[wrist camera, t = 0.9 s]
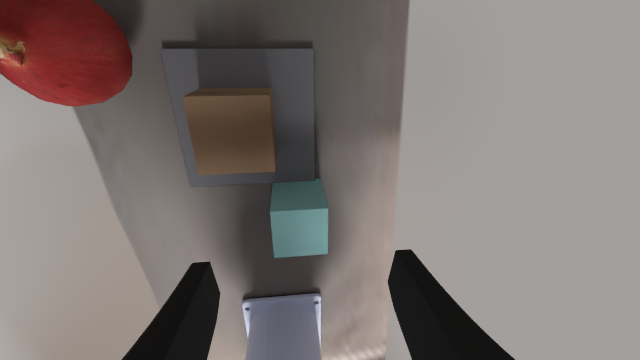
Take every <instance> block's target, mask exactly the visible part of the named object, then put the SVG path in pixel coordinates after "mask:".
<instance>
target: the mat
mask: <svg viewBox="0 0 640 360" xmlns="http://www.w3.org/2000/svg"><path fill="white" fill-rule="evenodd" d="M160 51H161V56H162V60H163V65H164V69H165V74H166V78H167V83H168V87H169V92H170V97H171V101H172V106H173V110H174V115H175V119H176V124H177V128H178V133H179V137H180V142H181V146H182V151H183V155H184V160H185V164H186V169H187V173H188V178H189V182H190V187H196V186H217V185H238V184H259V183H280V182H301V181H315V128H314V49H160ZM207 88H272V94H273V108H274V122H275V137H276V151H277V157H276V168H275V172H258V173H235V174H213V175H198V171H197V166H196V161H195V156H194V151H193V146H192V141H191V136H190V131H189V126H188V122H187V117H186V112H185V107H184V102H183V96H185V95H187V94H189V93H191V92H193V91H195V90H197V89H207Z"/></svg>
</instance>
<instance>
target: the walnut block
mask: <svg viewBox="0 0 640 360" xmlns="http://www.w3.org/2000/svg"><path fill="white" fill-rule="evenodd" d="M183 102H184V107H185V112H186V117H187V122H188V126H189V131H190V136H191V141H192V146H193V151H194V156H195V161H196V166H197V171H198V175H213V174H235V173H258V172H275V168H276V157H277V151H276V137H275V122H274V108H273V94H272V88H207V89H197V90H195V91H193V92H191V93H189V94H187V95H185V96H183Z"/></svg>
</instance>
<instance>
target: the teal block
mask: <svg viewBox="0 0 640 360" xmlns="http://www.w3.org/2000/svg"><path fill="white" fill-rule="evenodd" d="M270 218H271V229H272V240H273V251H274V258H281V257H295V256H308V255H321V254H328V205H327V201H326V198H325V194H324V190H323V186H322V183H321V179H320V178H316V179H315V181H301V182H280V183H273V184H272V195H271V206H270Z"/></svg>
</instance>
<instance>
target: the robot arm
mask: <svg viewBox="0 0 640 360" xmlns="http://www.w3.org/2000/svg"><path fill="white" fill-rule="evenodd" d="M388 285H389V290H390V294H391V298H392V302H393V306H394V309H395V312H396V315H397V318H398V321H399V324H400V327H401V330H402V332H403V335H404V338H405V341H406V344H407V346H408V349H409V352H410V355H411V357H412V360H515V359H514V358H513V357H511V356H510V355H509V354H508V353H507V352H506V351H505V350H504V349H502V348H501V347H500V346H499V345H498V344H497V343H496V342H495V341H494V340H493V339H492V338H491V337H490V336H488V335H487V334H486V333H485V332H484V331H483V330H482V329H481V328H480V327H479V326H478V325H477V324H476V323H475V322H474V321H473V320H472V319H471V318H470V317H469V316H468V315H467V314H466V313H465V311H463V309H462V308H461V307H460V306H459V305H458V304H457V303H456V302H455V301H454V300H453V298H452V297H451V296H450V295H449V294H448V293H447V292H446V291H445V290H444V288H443V287H442V286H441V285H440V284H439V283H438V282H437V280H436V279H435V278H434V277H433V276H432V274H431V273H430V272H429V271H428V270H427V268H426V267H425V266H424V265H423V264H422V262H421V261H420V260H419V259H418V258H417V256H416V255H415V254H414V253H413V251H412V250H396V251H395V255H394V259H393V263H392V267H391V271H390V275H389V279H388ZM219 299H220V291H219V288H218V285H217V282H216V279H215V276H214V273H213V270H212V267H211V264H210V262H198V263H192V264H191V266H190V267H189V269H188V270H187V272H186V273H185V275H184V276H183V278H182V279H181V281H180V282H179V284H178V285H177V287H176V288H175V290H174V291H173V293H172V294H171V296H170V297H169V298H168V300H167V301H166V303H165V304H164V305H163V307H162V308H161V310H160V311H159V313H158V314H157V315H156V317H155V318H154V319H153V321H152V322H151V323H150V325H149V326H148V327H147V329H146V330H145V331H144V332H143V334H142V335H141V336H140V337H139V339H138V340H137V341H136V343H135V344H134V345H133V346H132V348H131V349H130V350H129V352H128V353H127V354H126V355H125V356H124V357H123V359H122V360H207V357H208V353H209V349H210V345H211V341H212V337H213V333H214V329H215V325H216V321H217V314H218V307H219ZM315 301H316V302H315ZM242 307H243V313H244V319H245V325H246V331H247V337H248V343H247V351H246V358H245V360H322V358H321V296H320V294H318V293H313V294H301V295H290V296H278V297H267V298H255V299H246V300H244V301H243V303H242ZM247 307H249V308H247Z"/></svg>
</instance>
